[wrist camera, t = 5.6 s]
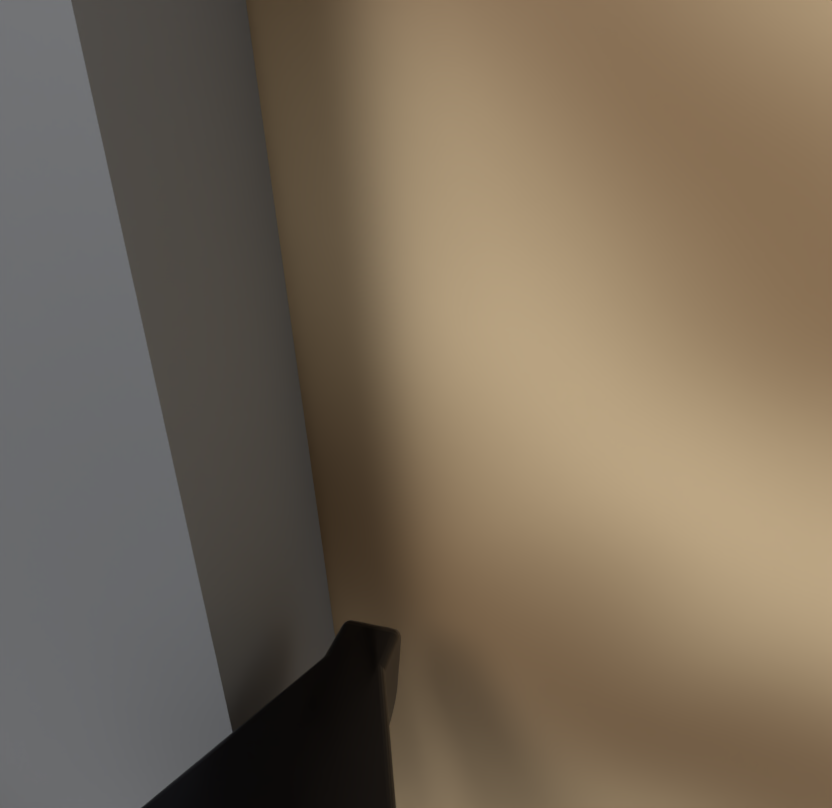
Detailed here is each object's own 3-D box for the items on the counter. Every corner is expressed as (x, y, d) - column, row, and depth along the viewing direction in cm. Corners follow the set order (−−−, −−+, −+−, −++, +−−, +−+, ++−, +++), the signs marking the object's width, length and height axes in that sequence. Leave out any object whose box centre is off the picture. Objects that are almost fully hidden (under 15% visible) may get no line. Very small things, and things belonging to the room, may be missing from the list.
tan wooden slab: (-129, -640, 7) (-1227, -1850, 3) (1307, 244, 8) (2240, 423, 4) (-255, 506, 14) (-642, 703, 9) (550, 926, 15) (553, 1292, 10)
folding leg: (-188, -499, 6) (-1037, -1192, 3) (187, -597, 6) (-339, -1627, 2) (168, 788, 12) (22, 1056, 8) (371, 808, 11) (300, 1103, 8)
